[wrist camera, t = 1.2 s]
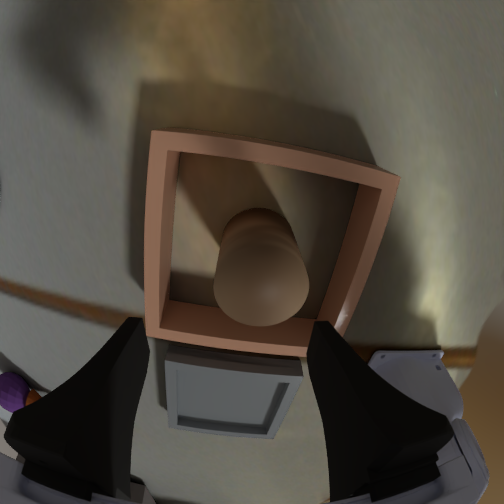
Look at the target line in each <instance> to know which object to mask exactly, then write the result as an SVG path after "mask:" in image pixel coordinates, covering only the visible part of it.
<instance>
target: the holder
mask: <svg viewBox="0 0 504 504" xmlns="http://www.w3.org/2000/svg"><path fill="white" fill-rule="evenodd" d="M180 152H189V153H198V154H206V155H213V156H220V157H227V158H234V159H241V160H247V161H253V162H259V163H265V164H271V165H276V166H282V167H287V168H292V169H297V170H302V171H307V172H312V173H316V174H321V175H326V176H330V177H335V178H339V179H343V180H347V181H352V182H356V183H359V187H358V191H357V194H356V198H355V202H354V205H353V209H352V212H351V216H350V219H349V223H348V226H347V230H346V233H345V236H344V240H343V243H342V246H341V249H340V252H339V256H338V259H337V262H336V265H335V268H334V271H333V274H332V277H331V280H330V283H329V286H328V289H327V292H326V295H325V297H324V300H323V303H322V306H321V309H320V311H319V314H318V317H317V319H308V318H298V317H290V318H289V319H287V320H285V321H283V322H281V323H278V324H274V325H270V326H250V325H246V324H242V323H240V322H237V321H235V320H234V319H232V318H230V317H229V316H228V315H227V314H225V313H224V312H223V310H222V309H221V308H218V307H211V306H204V305H198V304H192V303H185V302H179V301H173V300H170V273H171V252H172V236H173V222H174V209H175V198H176V187H177V177H178V168H179V159H180ZM400 178H401V177H399V176H397V175H395V174H393V173H391V172H389V171H387V170H385V169H383V168H381V167H379V166H376V165H373V164H369V163H365V162H362V161H358V160H354V159H351V158H347V157H343V156H339V155H335V154H331V153H326V152H322V151H318V150H313V149H309V148H304V147H300V146H295V145H290V144H285V143H280V142H274V141H269V140H263V139H257V138H251V137H245V136H239V135H232V134H225V133H218V132H210V131H202V130H193V129H183V128H172V127H166V128H161V129H156V130H152V132H151V141H150V151H149V161H148V173H147V187H146V205H145V231H144V292H145V318H146V336H150V337H155V338H160V339H166V340H171V341H177V342H183V343H189V344H195V345H202V346H208V347H215V348H223V349H230V350H238V351H247V352H256V353H266V354H276V355H288V356H302V357H307V356H306V353H307V349H308V345H309V341H310V337H311V333H312V329H313V325H314V321H329V322H330V323H331V324H332V326H333V327H334V328H335V329H336V330H337V332H338V333H339V334H340V335H341V336H342V337H343V336H344V333H345V331H346V329H347V327H348V324H349V322H350V320H351V318H352V315H353V313H354V311H355V308H356V306H357V303H358V301H359V299H360V296H361V294H362V291H363V289H364V286H365V284H366V281H367V278H368V276H369V273H370V271H371V268H372V265H373V262H374V260H375V257H376V254H377V251H378V249H379V246H380V243H381V240H382V237H383V234H384V231H385V228H386V225H387V222H388V219H389V215H390V212H391V209H392V206H393V202H394V199H395V196H396V192H397V189H398V185H399V181H400Z"/></svg>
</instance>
